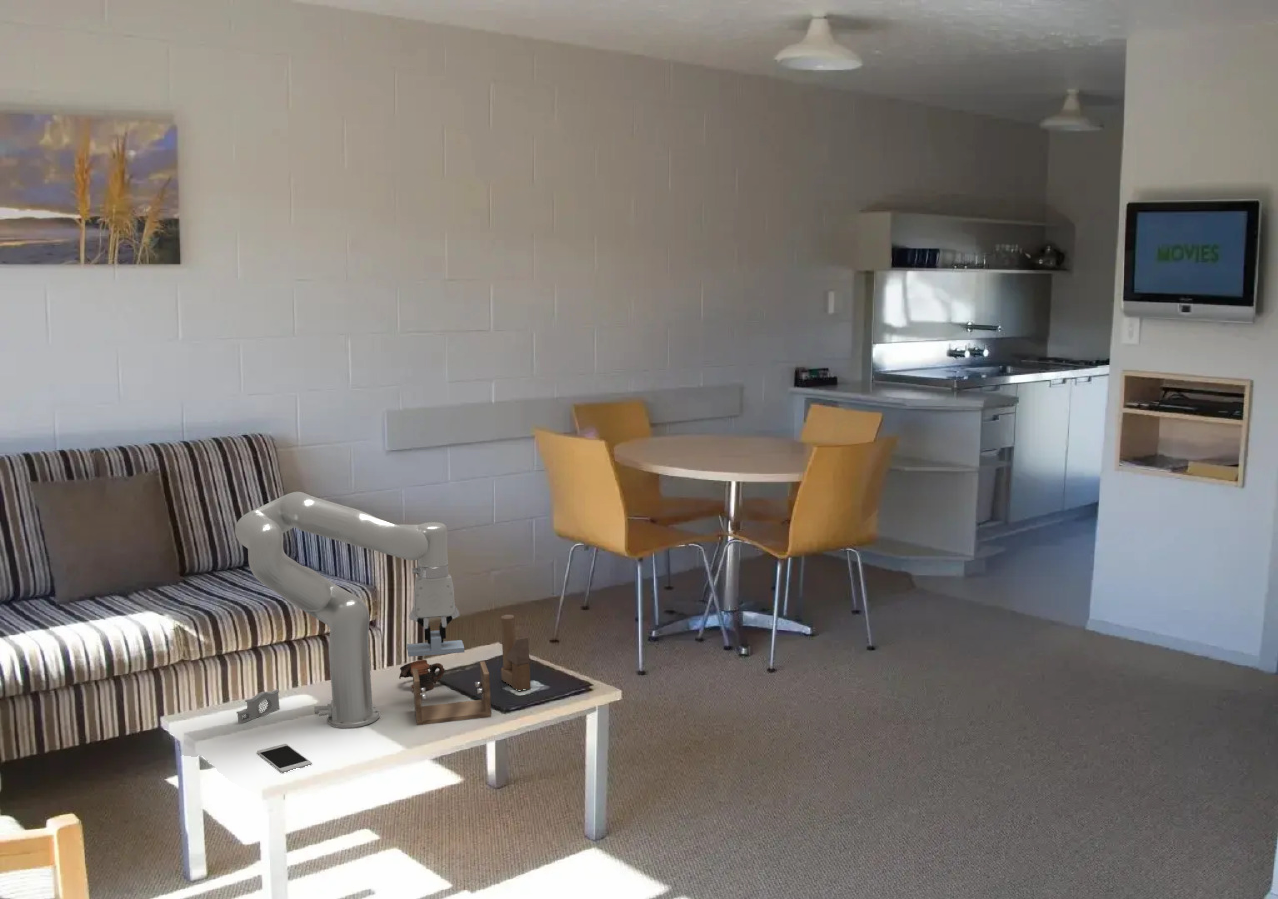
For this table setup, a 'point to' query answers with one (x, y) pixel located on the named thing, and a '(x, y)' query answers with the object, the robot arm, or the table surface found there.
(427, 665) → the pottery mug
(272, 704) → the garden wall model
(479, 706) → the shelf unit
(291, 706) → the table surface
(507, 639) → the wooden block
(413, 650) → the shelf board
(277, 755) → the smartphone
